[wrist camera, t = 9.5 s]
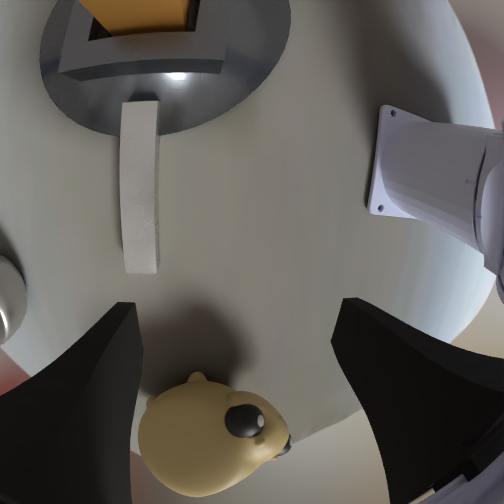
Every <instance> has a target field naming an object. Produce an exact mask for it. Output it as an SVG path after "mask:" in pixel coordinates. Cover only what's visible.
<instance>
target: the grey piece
mask: <svg viewBox="0 0 504 504" xmlns="http://www.w3.org/2000/svg"><path fill="white" fill-rule="evenodd" d="M290 24H291V12H290V5H289V0H192V3H191V9H190V15H189V21H188V27H187V32H158V33H143V34H133V35H124V36H116V37H113V36H112V35H111V34H110V33H109V32H108V31H107V30H106V29H105V28H104V27H103V26H102V25H101V24H100V22H99V21H98V20H97V19H96V18H95V17H94V16H93V15H92V14H91V13H90V12H89V11H88V10H87V9H86V8H85V7H84V6H83V5H82V4H81V3H80V2H79V1H78V0H59V1H58V2H57V4H56V5H55V7H54V9H53V10H52V12H51V15H50V17H49V19H48V21H47V23H46V26H45V29H44V32H43V36H42V41H41V46H40V69H41V75H42V79H43V82H44V85H45V88H46V90H47V92H48V94H49V96H50V98H51V99H52V100H53V102H54V103H55V104H56V106H57V107H58V108H59V109H60V110H61V111H62V112H63V113H64V114H65V115H66V116H67V117H69V118H70V119H72V120H73V121H75V122H76V123H78V124H79V125H82V126H84V127H86V128H88V129H91V130H93V131H97V132H100V133H104V134H107V135H114V136H120V209H121V226H122V239H123V250H124V260H125V269H126V273H157V272H158V268H159V265H160V250H159V221H158V172H159V143H160V136H161V135H166V134H171V133H176V132H180V131H183V130H186V129H190V128H193V127H196V126H198V125H201V124H203V123H205V122H208V121H210V120H212V119H214V118H216V117H218V116H220V115H221V114H223V113H225V112H227V111H228V110H230V109H231V108H233V107H234V106H236V105H237V104H239V103H240V102H241V101H243V100H244V99H245V98H246V97H247V96H248V95H250V94H251V93H252V92H253V91H254V90H255V89H256V88H258V86H259V85H260V84H261V83H262V82H263V81H264V80H265V79H266V78H267V77H268V75H269V74H270V73H271V71H272V70H273V68H274V67H275V65H276V64H277V63H278V61H279V59H280V57H281V55H282V53H283V51H284V49H285V45H286V42H287V39H288V36H289V30H290Z"/></svg>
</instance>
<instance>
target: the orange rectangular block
mask: <svg viewBox="0 0 504 504" xmlns="http://www.w3.org/2000/svg"><path fill="white" fill-rule="evenodd" d="M78 1H79V2H80V3H81V4H82V5H83V6H84V7H85V8H86V9H87V10H88V11H89V12H90V13H91V14H92V15H93V16H94V17H95V18H96V19H97V20H98V21H99V22H100V24H101V25H102V26H103V27H104V28H105V29H106V30H107V31H108V32H109V33H110V34H111V35H112V36H113V37H116V36H124V35H133V34H143V33H158V32H187V27H188V21H189V15H190V9H191V3H192V0H78Z"/></svg>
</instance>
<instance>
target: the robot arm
mask: <svg viewBox="0 0 504 504" xmlns="http://www.w3.org/2000/svg"><path fill="white" fill-rule="evenodd" d="M391 111H392V112H393V116H392V115H391ZM501 125H502V129H503V131H500V130H495V129H489V128H482V127H475V126H468V125H459V124H449V123H437V122H431V121H429V120H426V119H424V118H421V117H419V116H416V115H414V114H411V113H409V112H406V111H404V110H401V109H398V108H395V107H393V106H390V105H382V106H381V107H380V113H379V124H378V135H377V144H376V152H375V160H374V167H373V174H372V181H371V187H370V194H369V199H368V205H367V209H368V211H369V212H370V213H372V214H375V215H386V216H395V217H405V218H414V219H420V220H422V221H424V222H426V223H428V224H430V225H432V226H434V227H436V228H438V229H440V230H441V231H443V232H445V233H447V234H449V235H451V236H453V237H454V238H456V239H458V240H460V241H462V242H463V243H465V244H467V245H469V246H471V247H472V248H474V249H476V250H477V251H479V252H481V253H482V254H484V267H485V268H486V269H488V270H489V271H491V272H492V273H494V274H495V275H497V277H496V286H497V292H498V295H499V297H500V299H501V301H502V302H503V304H504V118H503V119H502V121H501ZM380 205H381V208H380V209H379V210H378V207H379V206H380ZM331 344H332V347H333V350H334V353H335V355H336V358H337V360H338V363H339V365H340V367H341V369H342V371H343V372H344V374H345V376H346V378H347V380H348V382H349V383H350V385H351V387H352V389H353V391H354V392H355V394H356V396H357V398H358V400H359V401H360V403H361V405H362V407H363V409H364V411H365V413H366V415H367V417H368V420H369V422H370V425H371V428H372V430H373V433H374V436H375V439H376V442H377V445H378V448H379V451H380V454H381V458H382V462H383V466H384V470H385V474H386V479H387V484H388V490H389V498H390V504H410V503H412V502H414V501H415V500H417V499H419V498H420V497H422V496H424V495H425V494H427V493H429V492H430V491H432V490H433V489H434V491H435V493H434V494H432V495H431V496H429V497H428V498H426V499H424V500H423V501H421V502H420V503H418V504H504V359H502V358H496V357H491V356H486V355H482V354H478V353H474V352H471V351H467V350H465V349H461V348H459V347H456V346H453V345H451V344H448V343H446V342H443V341H441V340H438V339H436V338H434V337H432V336H430V335H428V334H426V333H424V332H422V331H420V330H418V329H416V328H414V327H412V326H410V325H408V324H406V323H404V322H403V321H401V320H399V319H397V318H396V317H394V316H392V315H390V314H388V313H387V312H385V311H383V310H381V309H380V308H378V307H376V306H374V305H372V304H370V303H368V302H366V301H364V300H362V299H360V298H357V297H356V298H343V301H342V305H341V308H340V312H339V315H338V319H337V322H336V326H335V329H334V332H333V335H332V339H331ZM142 361H143V345H142V340H141V334H140V329H139V323H138V317H137V311H136V305H135V303H132V302H117V303H116V304H115V305H114V306H113V307H112V308H111V309H110V310H109V311H108V312H107V313H106V314H105V315H104V316H103V317H102V318H101V319H100V320H99V321H98V322H97V323H96V324H95V325H93V326H92V327H91V328H90V329H89V330H88V331H87V332H86V333H85V334H84V335H83V336H82V337H81V338H80V339H79V340H78V341H76V342H75V343H74V344H73V345H72V346H71V347H70V348H69V349H68V350H66V351H65V352H64V353H63V354H62V355H61V356H60V357H58V358H57V359H56V360H55V361H53V362H52V363H51V364H49V365H48V366H47V367H45V368H44V369H43V370H41V371H40V372H39V373H37V374H36V375H34V376H33V377H31V378H30V379H28V380H26V381H25V382H23V383H22V384H20V385H19V386H17V387H15V388H14V389H12V390H10V391H8V392H7V393H5V394H3V395H1V396H0V504H132V499H131V486H130V436H131V427H132V421H133V416H134V410H135V405H136V399H137V394H138V389H139V384H140V379H141V372H142Z"/></svg>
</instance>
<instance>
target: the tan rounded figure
mask: <svg viewBox="0 0 504 504" xmlns="http://www.w3.org/2000/svg"><path fill="white" fill-rule="evenodd" d="M146 406H147V409H146V410H145V412H144V414H143V416H142V418H141V421H140V424H139V429H138V444H139V449H140V453H141V455H142V458H143V460H144V462H145V463H146V465H147V467H148V468H149V469H150V471H151V472H152V473H153V475H154V476H155V477H156V478H157V479H158V480H159V481H161V482H162V483H163V484H164V485H165V486H167V487H168V488H170V489H172V490H174V491H175V492H178V493H180V494H183V495H186V496H191V497H201V496H207V495H210V494H214V493H217V492H219V491H222V490H224V489H226V488H228V487H230V486H232V485H234V484H236V483H238V482H239V481H241V480H243V479H244V478H246V477H247V476H248V475H250V474H251V473H252V472H253V471H254V470H255V469H257V468H258V467H259V466H260V465H261V464H263V463H264V462H265V461H267V460H270V461H274V460H276V459H277V458H278V457H277V456H281V455H283V454H285V453H287V452H288V451H289V450H290V448H291V446H292V438H291V435H290V434H289V428H288V426H287V424H286V422H285V420H284V419H283V417H282V416H281V415H280V413H279V412H278V411H277V410H276V409H275V408H274V407H273V406H272V405H271V404H270V403H269V402H268V401H266V400H265V399H264V398H262V397H260V396H258V395H256V394H254V393H250V392H246V391H235V390H234V389H232V388H230V387H228V386H226V385H223V384H220V383H216V382H211V381H207V379H206V377H205V375H204V374H203V373H201V372H193V373H192V374H191V375H190V376H189V378H188V381H187V383H185V384H182V385H179V386H176V387H173V388H171V389H169V390H167V391H165V392H163V393H162V394H160V395H159V396H158V397H150V398H149V399H148V400H147V402H146Z"/></svg>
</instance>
